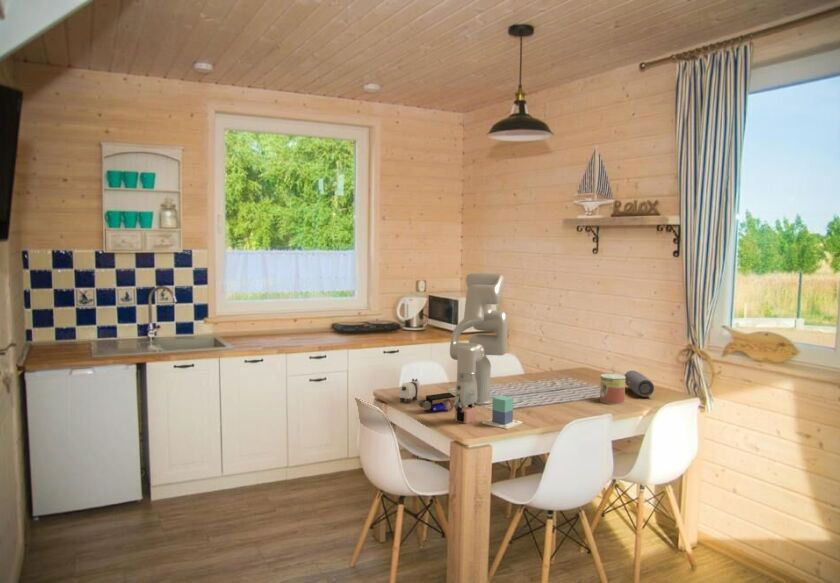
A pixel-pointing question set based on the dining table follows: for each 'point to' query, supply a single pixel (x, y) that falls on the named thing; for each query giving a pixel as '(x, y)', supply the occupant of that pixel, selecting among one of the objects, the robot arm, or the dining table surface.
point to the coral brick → (467, 414)
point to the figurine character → (432, 407)
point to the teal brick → (502, 404)
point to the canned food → (612, 389)
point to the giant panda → (409, 391)
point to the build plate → (502, 420)
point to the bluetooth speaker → (639, 383)
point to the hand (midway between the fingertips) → (465, 418)
